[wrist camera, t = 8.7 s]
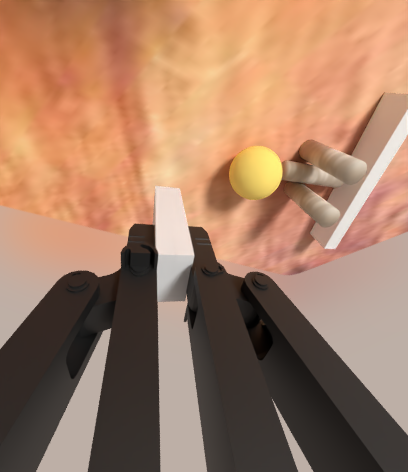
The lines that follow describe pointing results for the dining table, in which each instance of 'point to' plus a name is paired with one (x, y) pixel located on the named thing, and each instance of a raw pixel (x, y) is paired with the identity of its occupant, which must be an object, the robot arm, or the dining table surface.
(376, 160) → the wall
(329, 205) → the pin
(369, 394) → the robot arm
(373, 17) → the dining table surface
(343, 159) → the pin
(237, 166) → the ball
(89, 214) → the dining table surface
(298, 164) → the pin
